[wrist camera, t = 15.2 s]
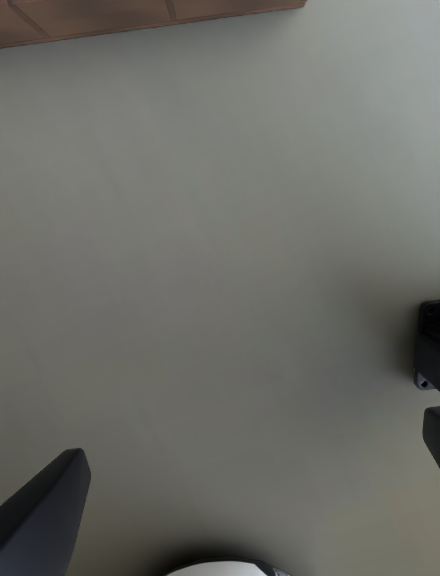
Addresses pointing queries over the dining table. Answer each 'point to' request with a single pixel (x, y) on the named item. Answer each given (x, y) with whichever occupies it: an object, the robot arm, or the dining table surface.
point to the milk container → (226, 568)
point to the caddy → (113, 16)
